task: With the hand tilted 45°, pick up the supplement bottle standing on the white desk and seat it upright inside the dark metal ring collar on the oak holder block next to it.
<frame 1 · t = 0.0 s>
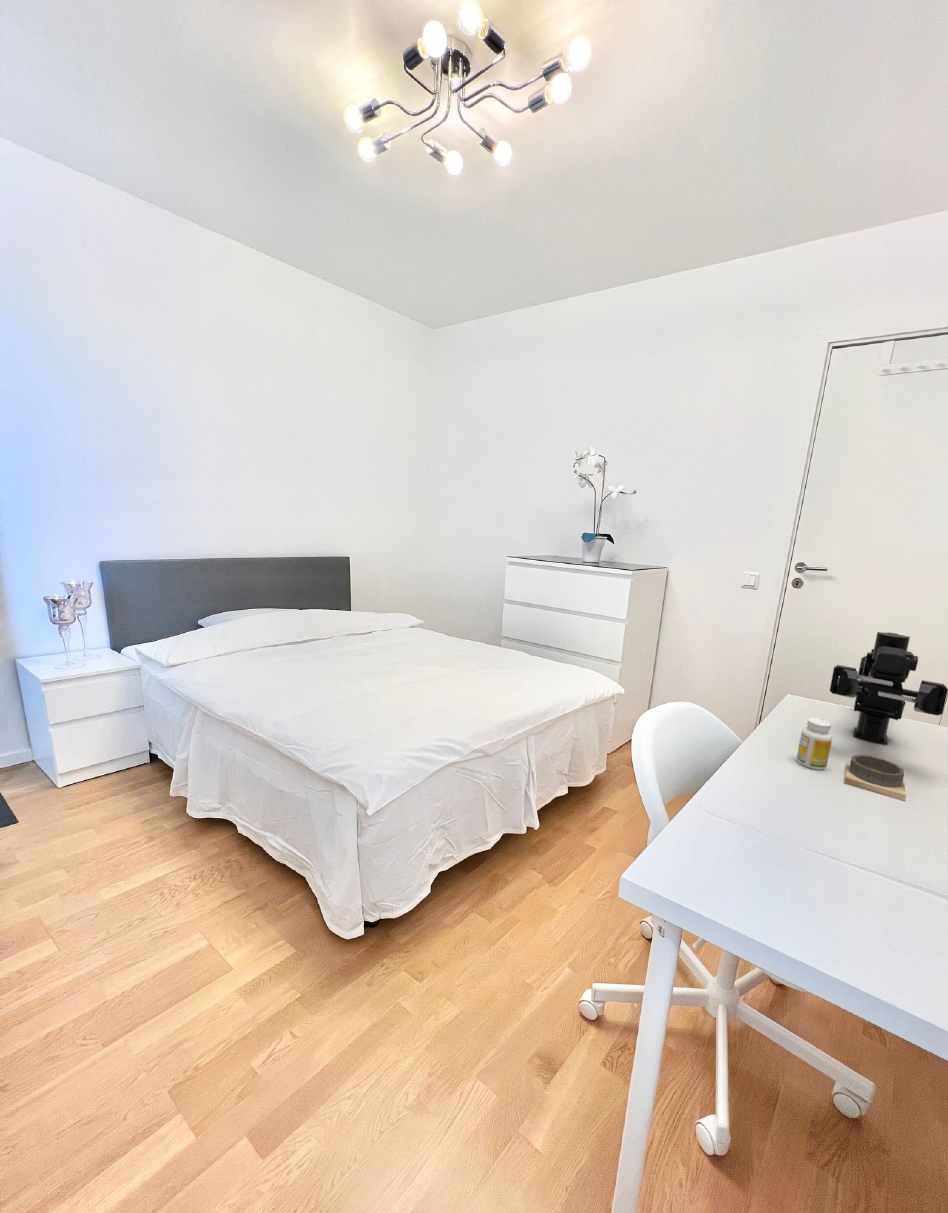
hand: (886, 699, 101), 17 cm above the table, tool horizontal, fingers open, 9 cm apart
supplement bottle: (810, 765, 108), on the table
ring holder: (873, 781, 102), on the table
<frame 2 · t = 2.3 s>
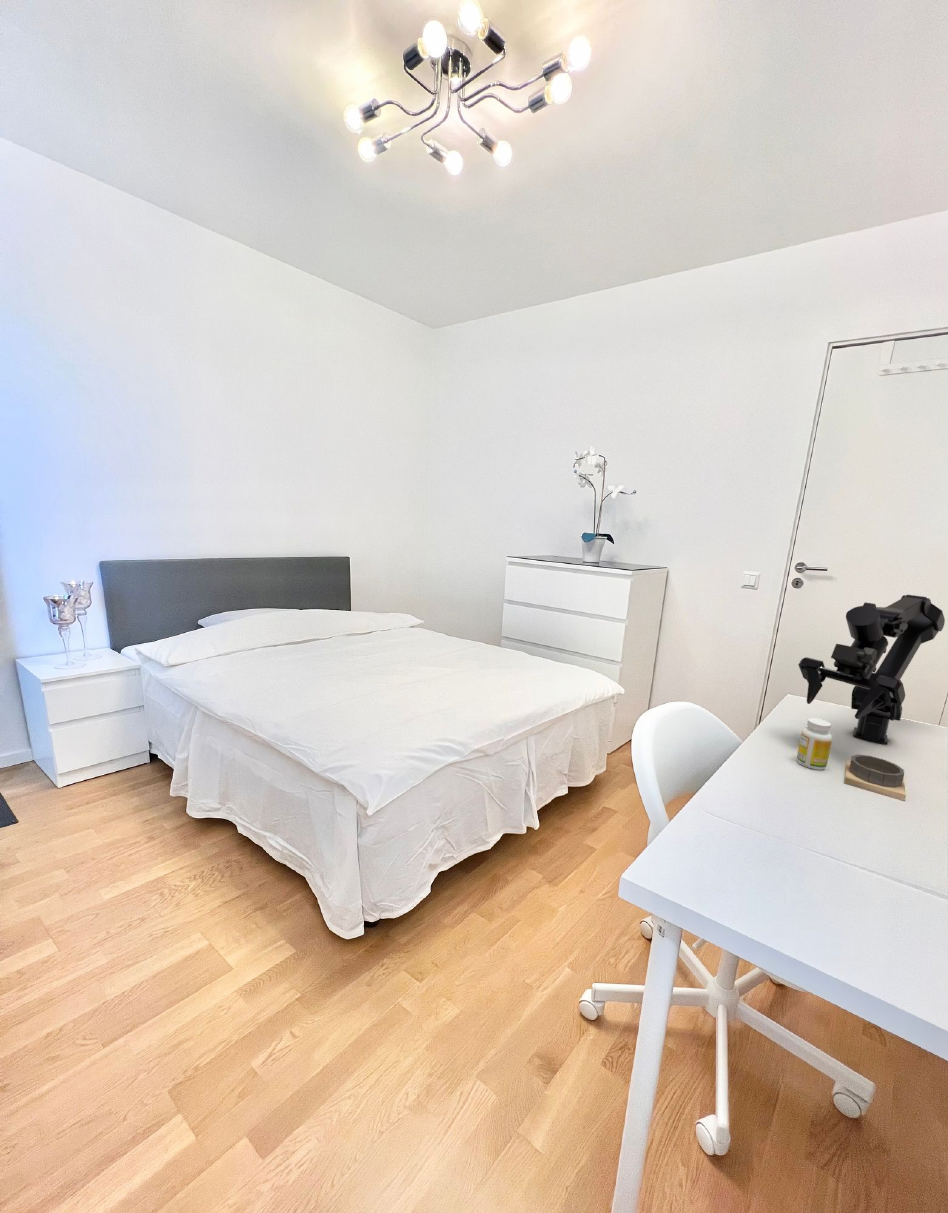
hand: (831, 710, 108), 11 cm above the table, tool tilted 45°, fingers open, 9 cm apart
nothing on the table moved.
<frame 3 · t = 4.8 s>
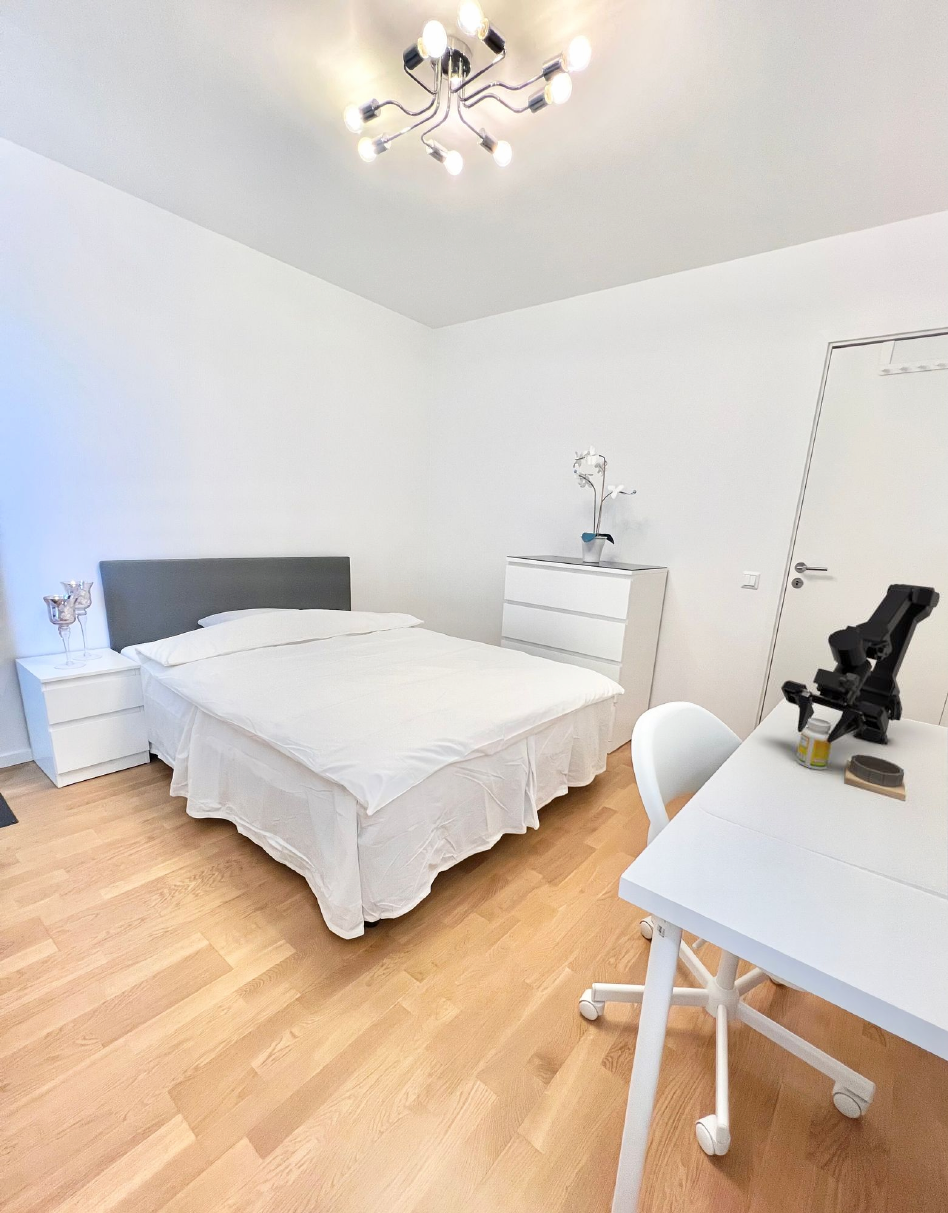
hand: (813, 736, 106), 7 cm above the table, tool tilted 45°, fingers closed on supplement bottle, 5 cm apart
supplement bottle: (810, 765, 108), on the table, touching gripper
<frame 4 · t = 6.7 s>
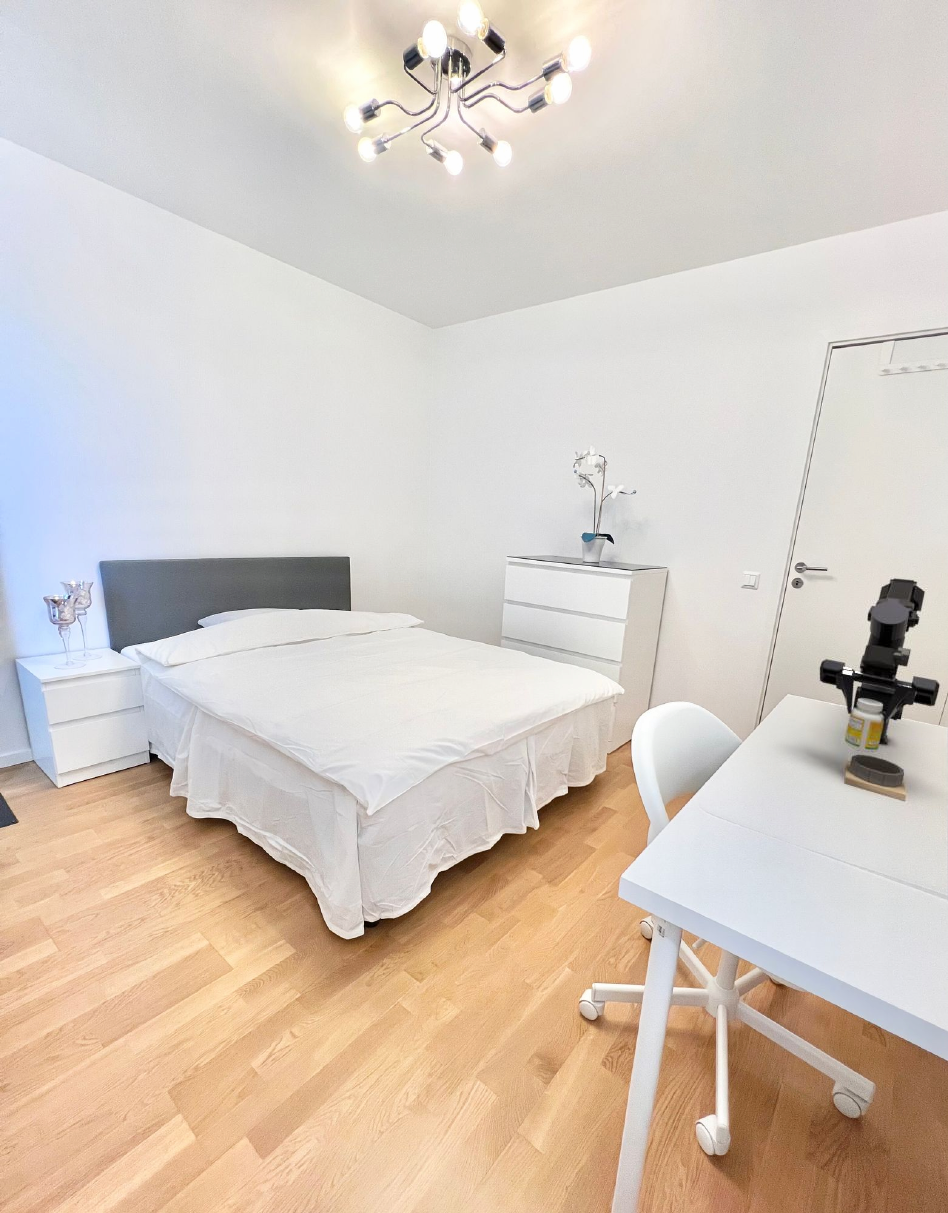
hand: (866, 717, 100), 13 cm above the table, tool tilted 45°, fingers closed on supplement bottle, 5 cm apart
supplement bottle: (860, 747, 102), point 6 cm above the table, touching gripper
when the fingers open (9 cm above the table, at t = 8.8 s): supplement bottle drops 1 cm, resting on ring holder.
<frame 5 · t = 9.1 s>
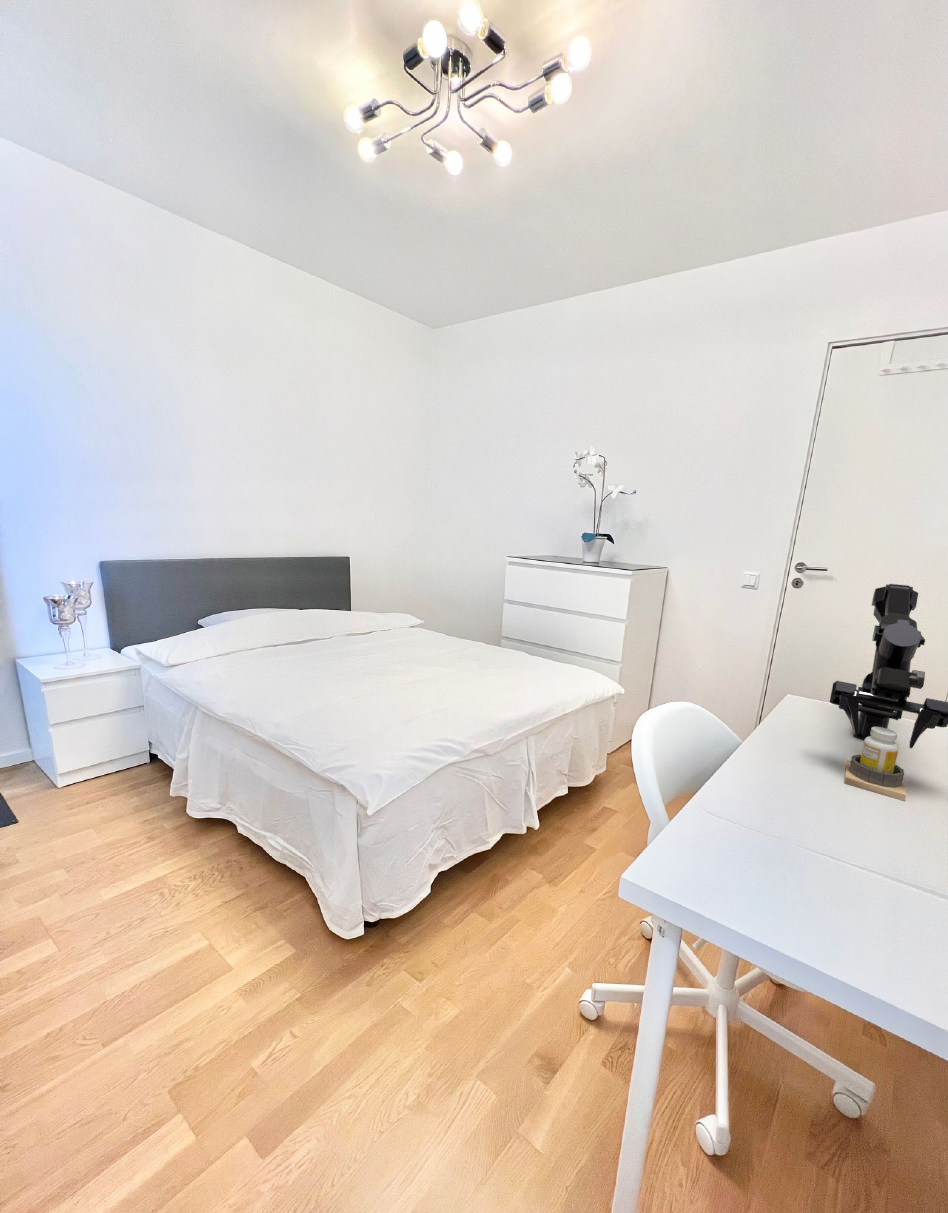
hand: (882, 740, 99), 9 cm above the table, tool tilted 45°, fingers open, 8 cm apart
supplement bottle: (874, 776, 102), point 1 cm above the table, touching ring holder
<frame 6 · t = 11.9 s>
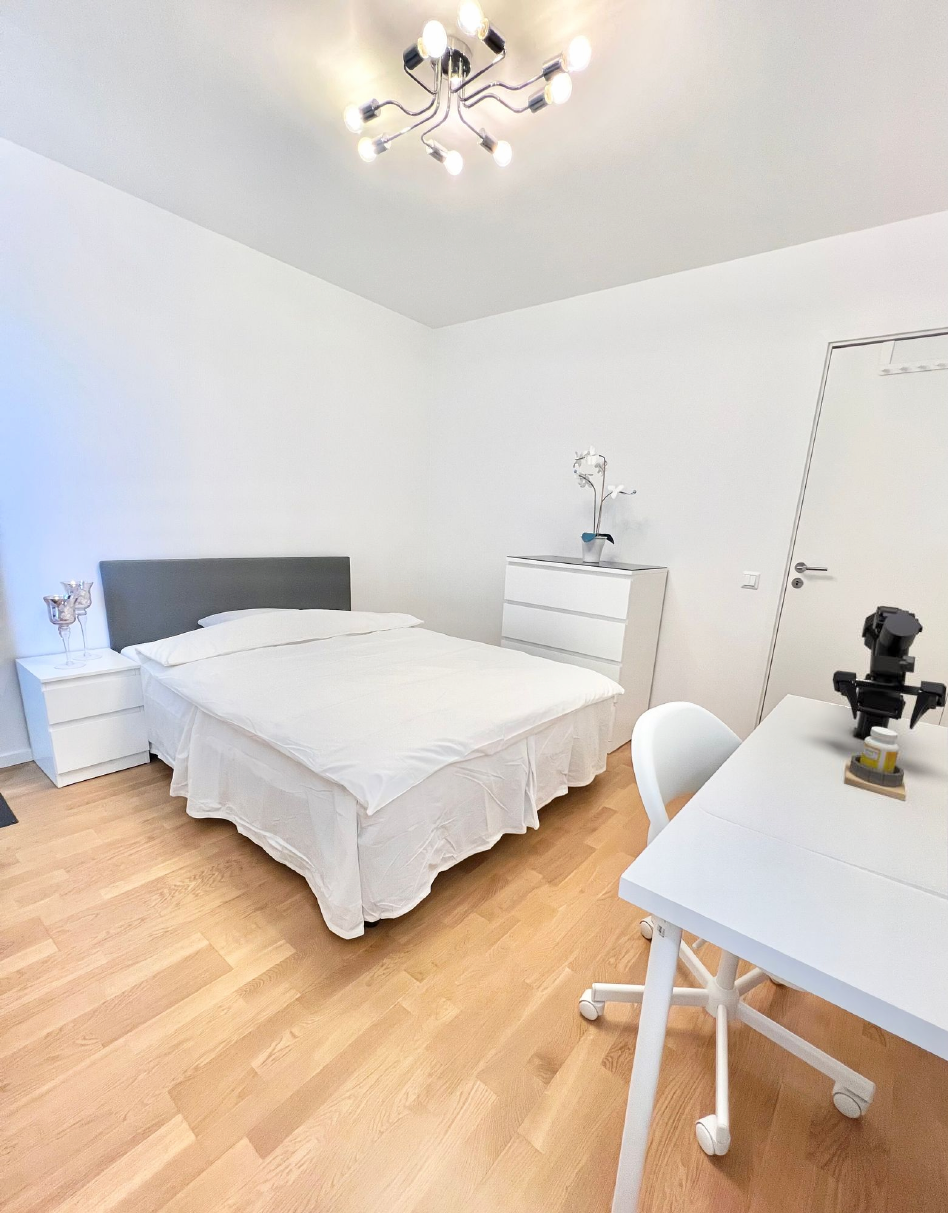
hand: (882, 723, 107), 10 cm above the table, tool tilted 40°, fingers open, 9 cm apart
nothing on the table moved.
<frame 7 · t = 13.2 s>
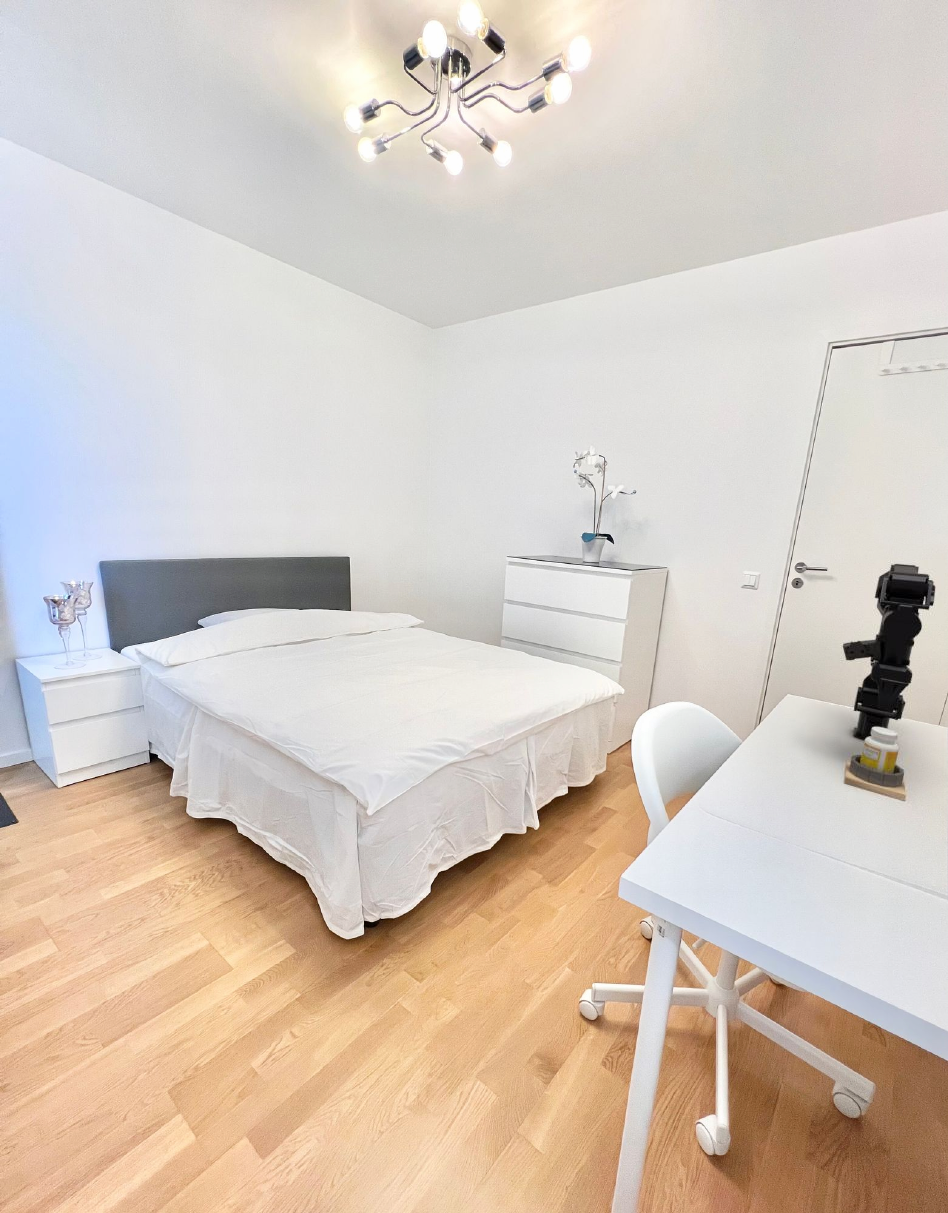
hand: (881, 703, 109), 13 cm above the table, tool pointing down, fingers open, 9 cm apart
nothing on the table moved.
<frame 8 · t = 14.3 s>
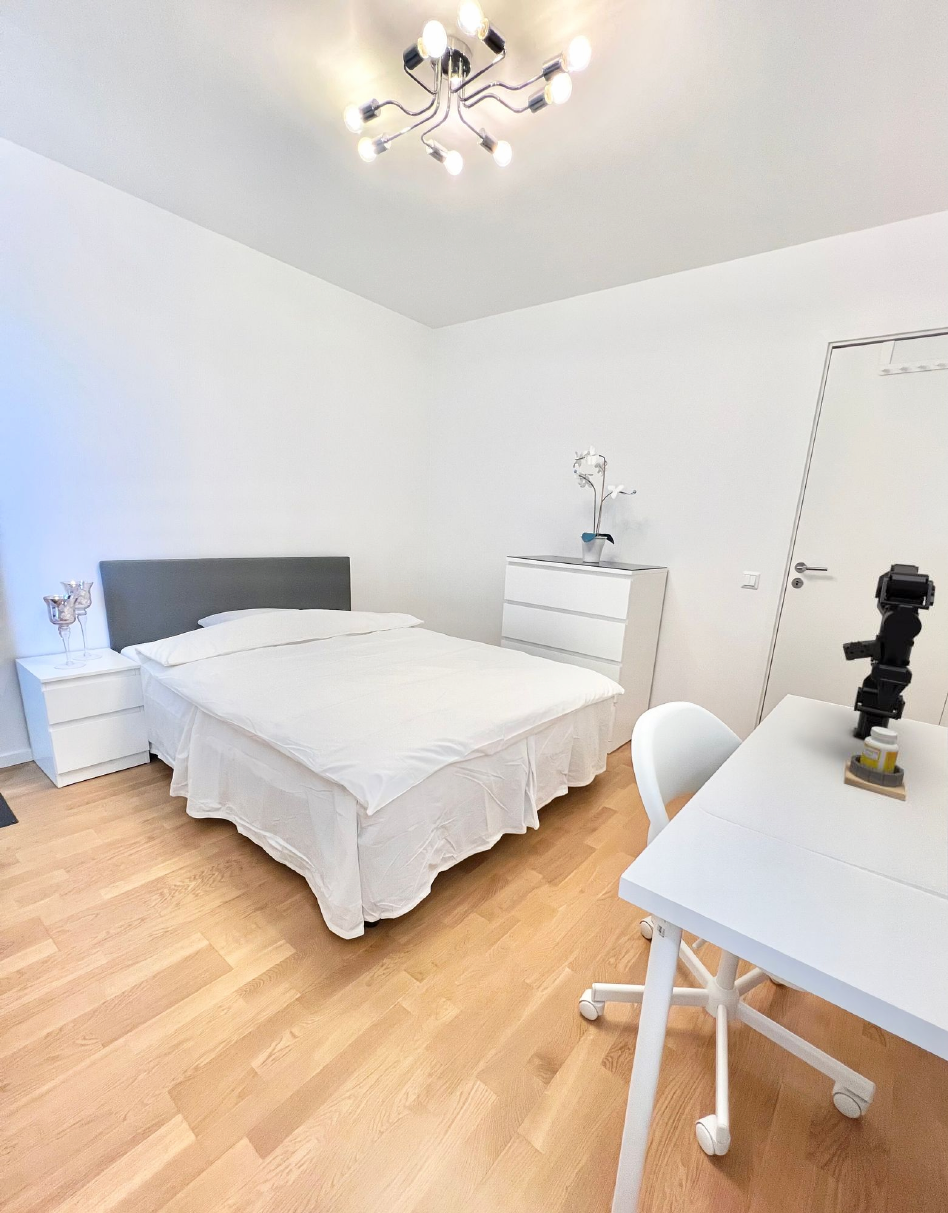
hand: (881, 703, 109), 13 cm above the table, tool pointing down, fingers open, 9 cm apart
nothing on the table moved.
at the end: supplement bottle 0.2 cm off-centre on the ring holder, point 1.0 cm above the ring holder's base; supplement bottle tilted 0°; the gripper is holding nothing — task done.
